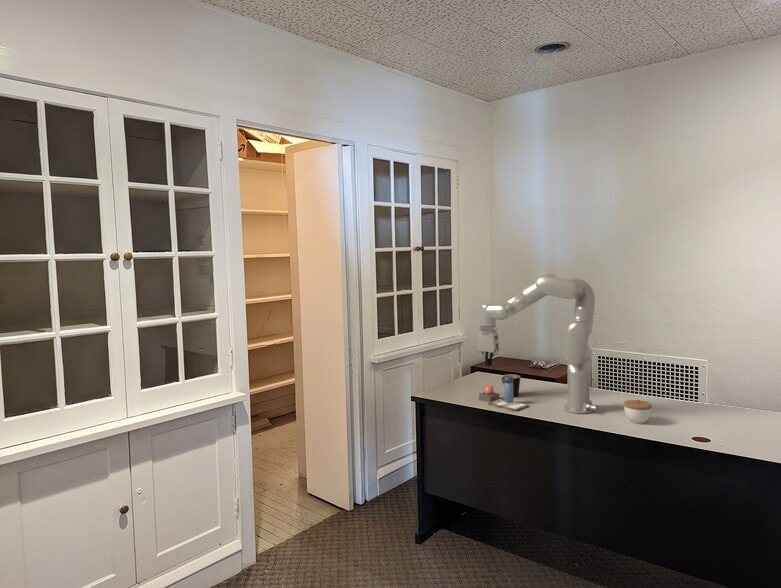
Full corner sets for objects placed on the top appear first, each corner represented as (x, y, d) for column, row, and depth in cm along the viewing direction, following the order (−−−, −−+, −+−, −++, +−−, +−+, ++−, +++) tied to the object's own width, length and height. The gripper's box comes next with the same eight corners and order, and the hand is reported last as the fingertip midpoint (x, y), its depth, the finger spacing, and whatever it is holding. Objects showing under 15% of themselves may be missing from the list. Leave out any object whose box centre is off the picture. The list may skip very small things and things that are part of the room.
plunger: (495, 396, 266) (494, 386, 266) (489, 398, 264) (489, 388, 263) (488, 395, 269) (488, 385, 269) (483, 396, 267) (483, 386, 266)
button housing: (499, 399, 266) (499, 393, 266) (490, 402, 262) (490, 396, 261) (488, 396, 272) (488, 391, 271) (479, 399, 267) (479, 393, 267)
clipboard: (529, 406, 253) (528, 404, 253) (516, 411, 246) (516, 409, 246) (501, 400, 265) (501, 398, 265) (488, 404, 258) (488, 402, 258)
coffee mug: (522, 397, 268) (522, 378, 267) (505, 398, 268) (504, 378, 267) (517, 391, 279) (517, 372, 278) (500, 392, 279) (500, 373, 279)
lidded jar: (628, 425, 223) (628, 403, 222) (620, 417, 234) (620, 396, 233) (655, 425, 222) (655, 403, 221) (646, 417, 232) (646, 396, 231)
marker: (515, 401, 258) (514, 377, 257) (510, 403, 255) (509, 378, 254) (508, 400, 261) (507, 375, 260) (503, 402, 258) (502, 377, 257)
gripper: (505, 329, 260) (505, 366, 262) (481, 326, 272) (481, 362, 273) (495, 331, 256) (496, 369, 257) (471, 328, 267) (471, 364, 268)
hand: (488, 365), depth 265 cm, fingers closed
